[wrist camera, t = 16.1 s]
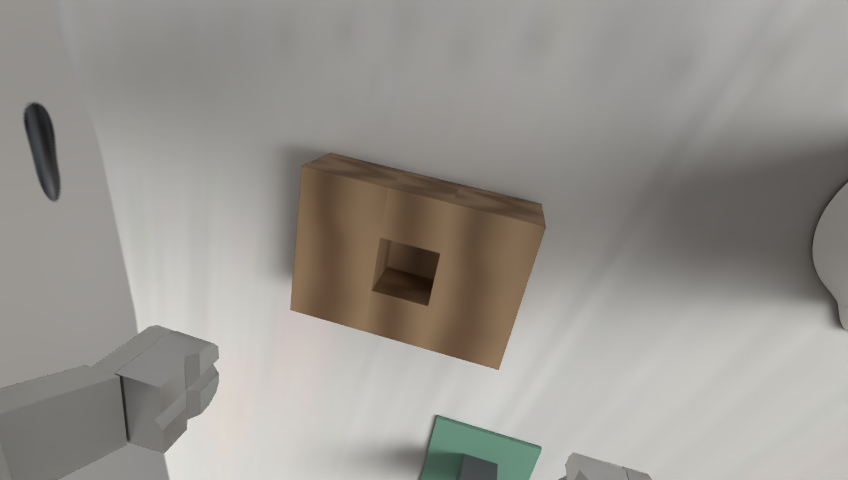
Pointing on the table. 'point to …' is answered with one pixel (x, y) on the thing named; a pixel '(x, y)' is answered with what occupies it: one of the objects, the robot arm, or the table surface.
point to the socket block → (413, 257)
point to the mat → (476, 451)
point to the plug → (476, 469)
